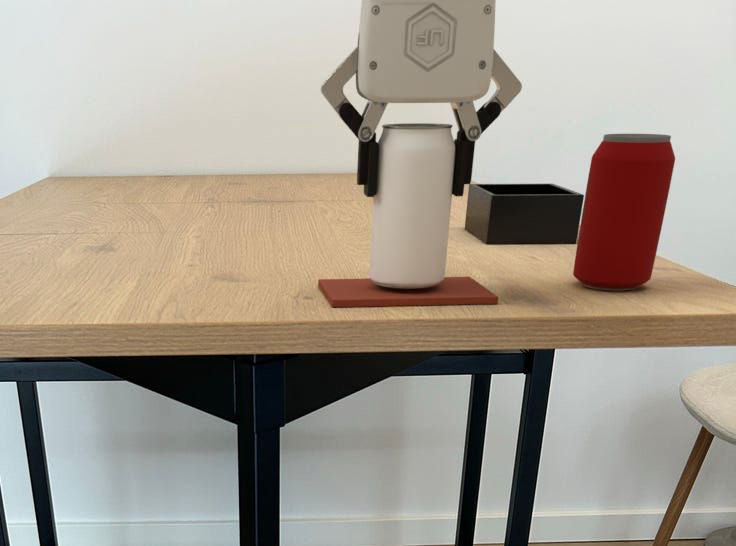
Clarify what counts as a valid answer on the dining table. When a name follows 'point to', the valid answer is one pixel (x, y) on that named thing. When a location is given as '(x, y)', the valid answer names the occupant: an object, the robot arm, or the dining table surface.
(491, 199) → the box
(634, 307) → the dining table surface
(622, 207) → the beverage can
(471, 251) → the dining table surface
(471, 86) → the robot arm
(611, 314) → the dining table surface
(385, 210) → the can
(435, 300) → the mat
